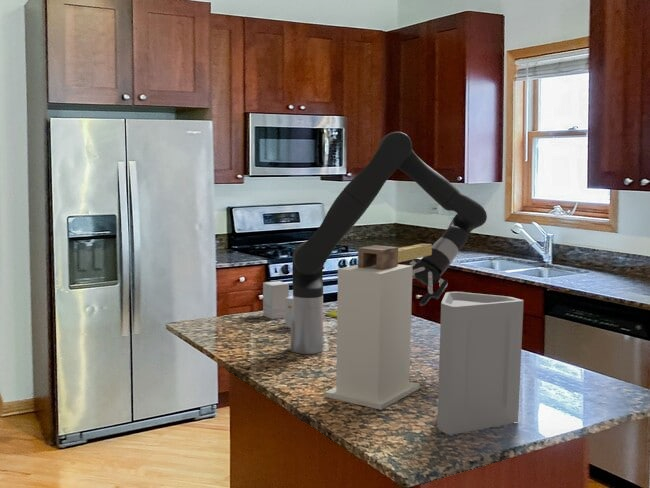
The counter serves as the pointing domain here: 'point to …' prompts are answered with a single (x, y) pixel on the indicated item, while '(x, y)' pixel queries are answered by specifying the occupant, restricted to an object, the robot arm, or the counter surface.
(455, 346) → the triangular grey vase
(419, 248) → the gold block
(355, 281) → the mount
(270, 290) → the supplement box
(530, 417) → the counter surface
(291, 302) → the small box
